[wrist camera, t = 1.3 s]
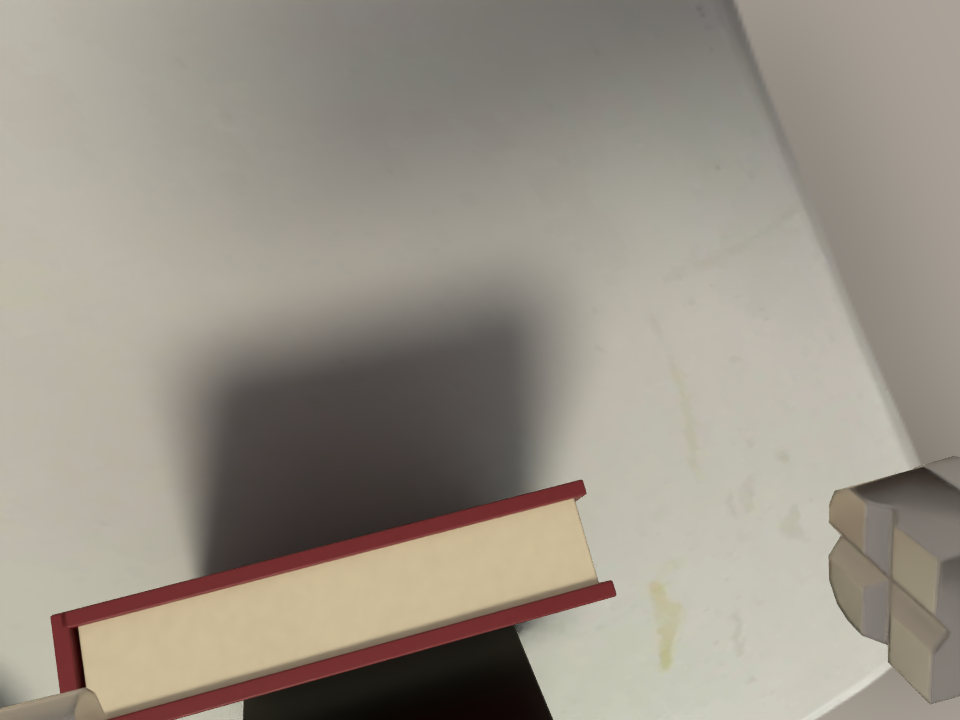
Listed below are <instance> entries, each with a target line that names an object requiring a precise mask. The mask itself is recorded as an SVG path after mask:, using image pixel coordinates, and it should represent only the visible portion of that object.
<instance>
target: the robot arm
mask: <svg viewBox="0 0 960 720" xmlns="http://www.w3.org/2000/svg"><path fill="white" fill-rule="evenodd" d="M829 523H830V524H831V525H832V527H833V528H834V529H835V530H836V531H837V532H838V533H839V534H840V535H841V536H840V538H839V540H838V541H837V543H836V545H835V546H834V548H833V549H832V551H831V553H830V554H829V581H830V584H831V587H832V590H833V593H834V596H835V599H836V601H837V604H838V606H839V607H840V609H841V611H842V612H843V614H844V615H845V617H846V618H847V620H848V621H849V622H850V623H851V624H852V625H853V626H854V628H855V629H856V630H857V631H858V632H859V633H860V634H861V635H862V636H865V637H868V638H870V639H873V640H876V641H878V642H881V643H884V644H886V645H888V662H889V663H890V665H891V666H892V667H893V668H894V669H896V671H897V672H898V673H899V674H900V675H901V676H903V678H904V679H905V680H906V681H907V682H909V684H911V686H912V687H913V688H914V689H915V690H916V691H918V693H919V694H921V695H922V697H923V698H924V699H925V700H926V701H927V702H928V703H929V704H933V703H937V702H940V701H944V700H948V699H952V698H955V697H959V696H960V457H956V456H952V457H949V458H945V459H942V460H939V461H935V462H932V463H929V464H925V465H922V466H918V467H915V468H914V469H913V470H910V471H906V472H902V473H899V474H895V475H891V476H888V477H884V478H880V479H876V480H873V481H869V482H865V483H862V484H858V485H854V486H850V487H847V488H843V489H839V490H836V491H834V494H833V496H832V499H831V501H830V505H829ZM0 720H106V715H105V713H104V711H103V709H102V706H101V704H100V702H99V700H98V697H97V695H96V693H95V692H94V691H92V690H90V689H88V688H86V687H85V688H81V689H77V690H73V691H69V692H64V693H60V694H56V695H52V696H48V697H44V698H40V699H36V700H31V701H27V702H23V703H19V704H15V705H11V706H7V707H2V708H0Z"/></svg>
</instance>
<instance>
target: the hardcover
mask: <svg viewBox="0 0 960 720" xmlns="http://www.w3.org/2000/svg"><path fill="white" fill-rule="evenodd" d="M585 494H586V490H585V486H584V483H583V480H578V481H574V482H570V483H566V484H562V485H558V486H554V487H550V488H546V489H542V490H539V491H535V492H531V493H527V494H523V495H519V496H515V497H511V498H507V499H503V500H500V501H496V502H492V503H488V504H484V505H480V506H476V507H472V508H468V509H464V510H461V511H457V512H453V513H449V514H445V515H441V516H437V517H433V518H429V519H425V520H422V521H418V522H414V523H410V524H406V525H402V526H398V527H394V528H390V529H386V530H383V531H379V532H375V533H371V534H367V535H363V536H359V537H355V538H351V539H347V540H344V541H340V542H336V543H332V544H328V545H324V546H320V547H316V548H312V549H308V550H305V551H301V552H297V553H293V554H289V555H285V556H281V557H277V558H273V559H269V560H266V561H262V562H258V563H254V564H250V565H246V566H242V567H238V568H234V569H230V570H226V571H223V572H219V573H215V574H211V575H207V576H203V577H199V578H195V579H191V580H187V581H184V582H180V583H176V584H172V585H168V586H164V587H160V588H156V589H152V590H148V591H145V592H141V593H137V594H133V595H129V596H125V597H121V598H117V599H113V600H109V601H106V602H102V603H98V604H94V605H90V606H86V607H82V608H78V609H74V610H70V611H67V612H63V613H59V614H55V615H52V616H51V625H52V633H53V640H54V648H55V656H56V664H57V672H58V679H59V687H60V693H64V692H69V691H73V690H77V689H81V688H85V687H86V688H88V689H90V690H92V691H94V692H95V693H96V695H97V697H98V700H99V702H100V704H101V706H102V709H103V711H104V713H105V715H106V720H175V719H178V718H182V717H186V716H189V715H193V714H196V713H200V712H203V711H207V710H211V709H214V708H218V707H221V706H225V705H228V704H232V703H236V702H239V701H243V700H246V699H250V698H254V697H257V696H261V695H264V694H268V693H271V692H275V691H279V690H282V689H286V688H289V687H293V686H296V685H300V684H304V683H307V682H311V681H314V680H318V679H321V678H325V677H329V676H332V675H336V674H339V673H343V672H346V671H350V670H354V669H357V668H361V667H364V666H368V665H372V664H375V663H379V662H382V661H386V660H389V659H393V658H397V657H400V656H404V655H407V654H411V653H414V652H418V651H422V650H425V649H429V648H432V647H436V646H439V645H443V644H447V643H450V642H454V641H457V640H461V639H465V638H468V637H472V636H475V635H479V634H482V633H486V632H490V631H493V630H497V629H500V628H504V627H507V626H511V625H515V624H518V623H522V622H525V621H529V620H532V619H536V618H540V617H543V616H547V615H550V614H554V613H558V612H561V611H565V610H568V609H572V608H575V607H579V606H583V605H586V604H590V603H593V602H597V601H600V600H604V599H608V598H611V597H615V596H616V591H615V588H614V584H613V582H612V581H611V580H610V581H605V582H600V583H599V582H598V578H597V575H596V572H595V568H594V565H593V561H592V558H591V554H590V551H589V548H588V544H587V541H586V537H585V534H584V530H583V527H582V523H581V520H580V517H579V513H578V510H577V506H576V503H575V502H576V501H577V500H578V499H580V498H581V497H583V496H584V495H585Z"/></svg>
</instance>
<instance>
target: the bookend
mask: <svg viewBox="0 0 960 720" xmlns="http://www.w3.org/2000/svg"><path fill="white" fill-rule="evenodd" d="M243 720H553V718H552V716H551V713H550V711H549V708H548V706H547V704H546V701H545V699H544V696H543V694H542V692H541V689H540V687H539V684H538V682H537V680H536V677H535V675H534V672H533V670H532V668H531V665H530V663H529V660H528V658H527V656H526V653H525V651H524V648H523V646H522V644H521V641H520V639H519V636H518V634H517V632H516V629H515V627H514V625H511V626H507V627H504V628H500V629H497V630H493V631H490V632H486V633H482V634H479V635H475V636H472V637H468V638H465V639H461V640H457V641H454V642H450V643H447V644H443V645H439V646H436V647H432V648H429V649H425V650H422V651H418V652H414V653H411V654H407V655H404V656H400V657H397V658H393V659H389V660H386V661H382V662H379V663H375V664H372V665H368V666H364V667H361V668H357V669H354V670H350V671H346V672H343V673H339V674H336V675H332V676H329V677H325V678H321V679H318V680H314V681H311V682H307V683H304V684H300V685H296V686H293V687H289V688H286V689H282V690H279V691H275V692H271V693H268V694H264V695H261V696H257V697H254V698H250V699H246V700H244V707H243Z"/></svg>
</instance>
